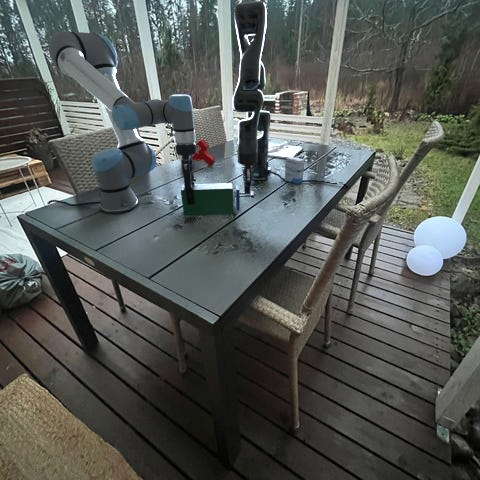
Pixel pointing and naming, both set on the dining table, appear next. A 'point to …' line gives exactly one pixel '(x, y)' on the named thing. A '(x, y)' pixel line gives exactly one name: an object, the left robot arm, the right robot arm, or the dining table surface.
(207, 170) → the dining table surface
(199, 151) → the toy gun
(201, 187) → the cabinet
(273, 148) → the relief map
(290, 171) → the ink box
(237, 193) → the drawer
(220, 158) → the dining table surface
